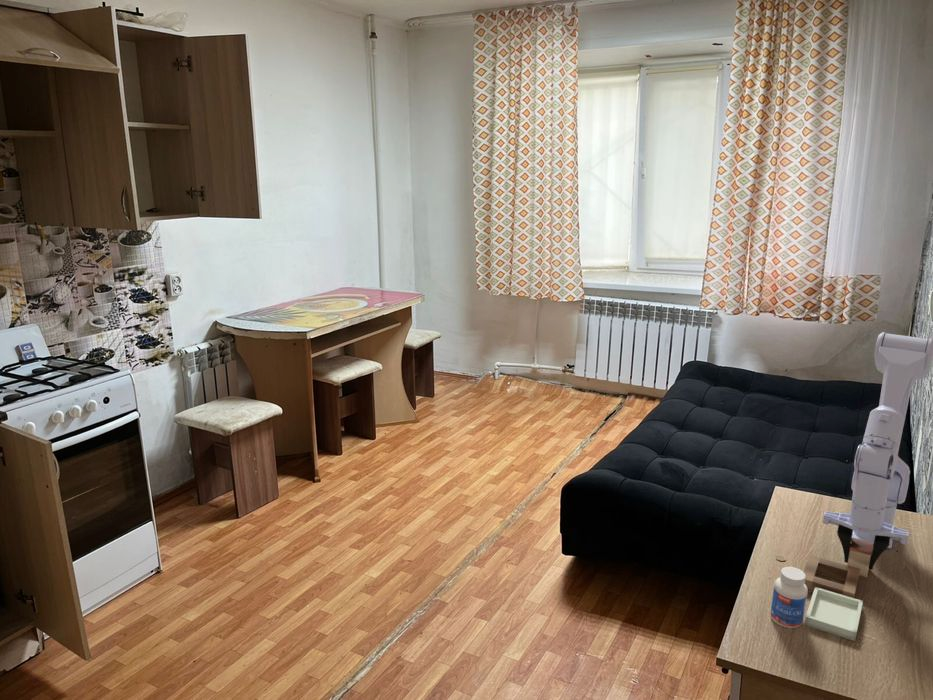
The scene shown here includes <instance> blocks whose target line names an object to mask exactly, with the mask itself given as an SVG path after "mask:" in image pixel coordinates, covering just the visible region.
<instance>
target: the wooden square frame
mask: <svg viewBox="0 0 933 700" xmlns="http://www.w3.org/2000/svg"><path fill="white" fill-rule="evenodd" d="M803 572H804V573H805V575H806V578H805V583H804V584H805V585H806V586H807V589H808V593H812V594H813V592H814V589H815V587H818V588H821V589H825V590H828V591H832V592H835V593H838V594H842V595H845V596H848V597H852V598H855V596H856V592H857V588H858V584H859V579H860V575H859V574H860V569H859V568H855V567H852V566H848V564H844V563H840V562H836V561H833V560H830V559H825V558H822V557H818V556H814V555H812V554H809V555H808V559H807V561H806V565H805V568H804V570H803ZM818 574H819V575H823V576H826V577H830V578H833V579H836V580H840V581H844V584H842V583H839V582H835V581H832V580H828V579H826V578H825V579H824V578H822V577H819V576H817V575H818ZM855 599H856V598H855Z"/></svg>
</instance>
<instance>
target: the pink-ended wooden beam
mask: <svg viewBox="0 0 933 700" xmlns="http://www.w3.org/2000/svg"><path fill="white" fill-rule="evenodd" d="M873 545H874V544H872V543H868V542H864V541H860V540H856V539H853V538H852V539H851V545H850V552H849V559H848V563H847V565H848V566H852V567H855V568H859V569H860V574H859V576H861V577H865V578H868V574H869V570H870V569H869V563H870V558H871V555H872V551H873Z"/></svg>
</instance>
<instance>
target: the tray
mask: <svg viewBox="0 0 933 700" xmlns="http://www.w3.org/2000/svg"><path fill="white" fill-rule="evenodd" d="M863 602H864V600H861V599H858V598H852V597H848V596H845V595H842V594H838V593H835V592H832V591H828V590H825V589H821V588H818V587H815V589H814V592H813V593H812V595H811V599H810V602H809V605H808V608H807V611H806V615H805V620H804V625H805V626H807V627H810V628H813V629H816V630H819V631H822V632H824V633H828V634H830V635H834V636H837V637H840V638H844V639H847V640H849V641H853V642H856V639H857V638H856V637H857V633H858V630H859V629H858V628H859V626H860V625H859V624H860V621H861V620H860V619H861V614H862V610H863V606H864V605H863V604H864V603H863Z"/></svg>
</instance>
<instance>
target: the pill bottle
mask: <svg viewBox="0 0 933 700" xmlns="http://www.w3.org/2000/svg"><path fill="white" fill-rule="evenodd" d="M780 570H781V571H780V575H779V577H778V578H777V579H775V581H774V585H773V590H772V591H773V592H772V598H771V600H772V601H771V606H770V617H771V620H772V621H773V622H775V624H777V625H779V626H781V627H783V628H787V629H796V628H798V627H801V626H802V624H803V622H804V616H805V609H806V604H807V598H808V593H809V591H808V589H807V586H806V585H805V584H804V583H805V578H806V575H805V573H804V570H801V569H799V568H797V567H794V566H784V567H782V568H781V569H780Z"/></svg>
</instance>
